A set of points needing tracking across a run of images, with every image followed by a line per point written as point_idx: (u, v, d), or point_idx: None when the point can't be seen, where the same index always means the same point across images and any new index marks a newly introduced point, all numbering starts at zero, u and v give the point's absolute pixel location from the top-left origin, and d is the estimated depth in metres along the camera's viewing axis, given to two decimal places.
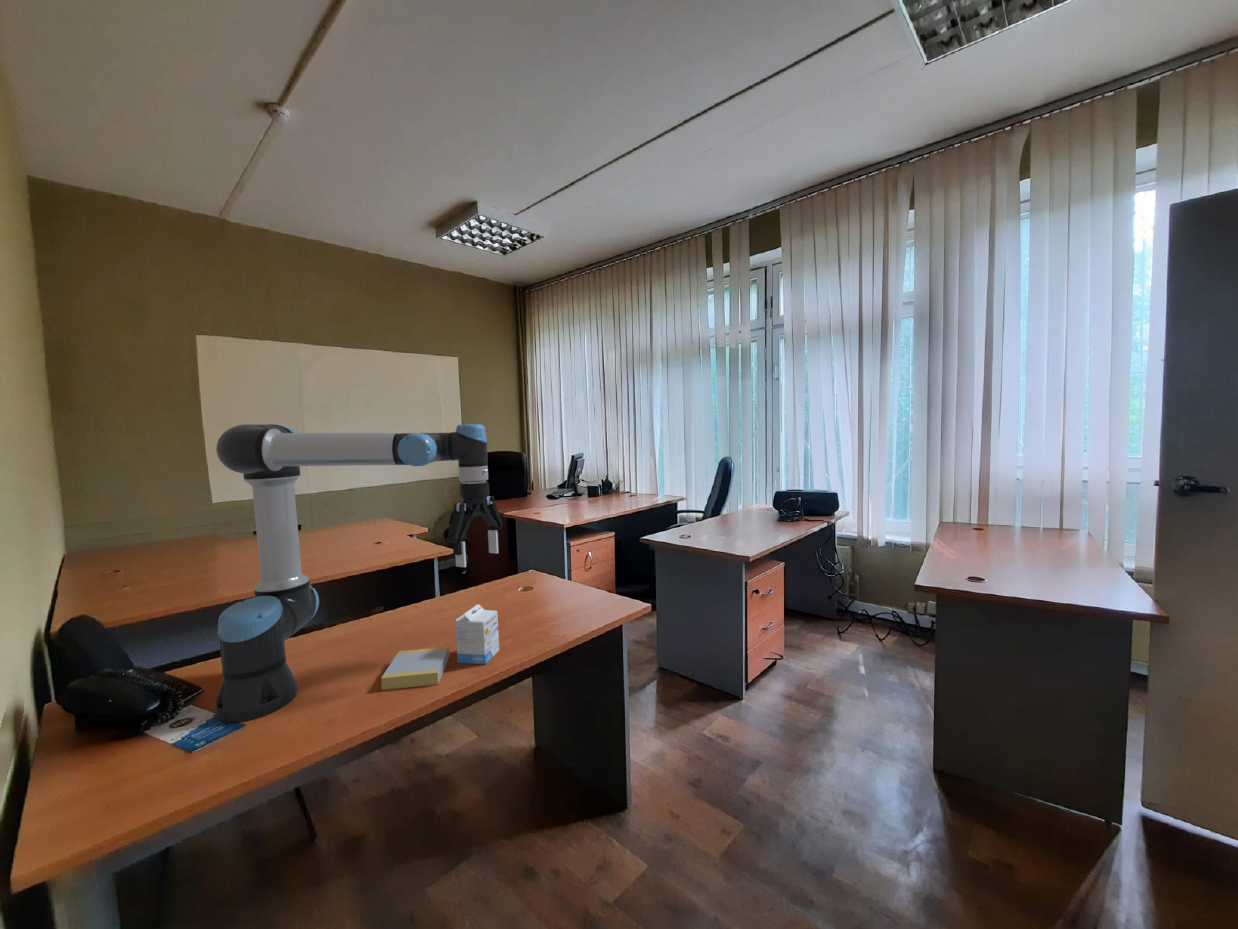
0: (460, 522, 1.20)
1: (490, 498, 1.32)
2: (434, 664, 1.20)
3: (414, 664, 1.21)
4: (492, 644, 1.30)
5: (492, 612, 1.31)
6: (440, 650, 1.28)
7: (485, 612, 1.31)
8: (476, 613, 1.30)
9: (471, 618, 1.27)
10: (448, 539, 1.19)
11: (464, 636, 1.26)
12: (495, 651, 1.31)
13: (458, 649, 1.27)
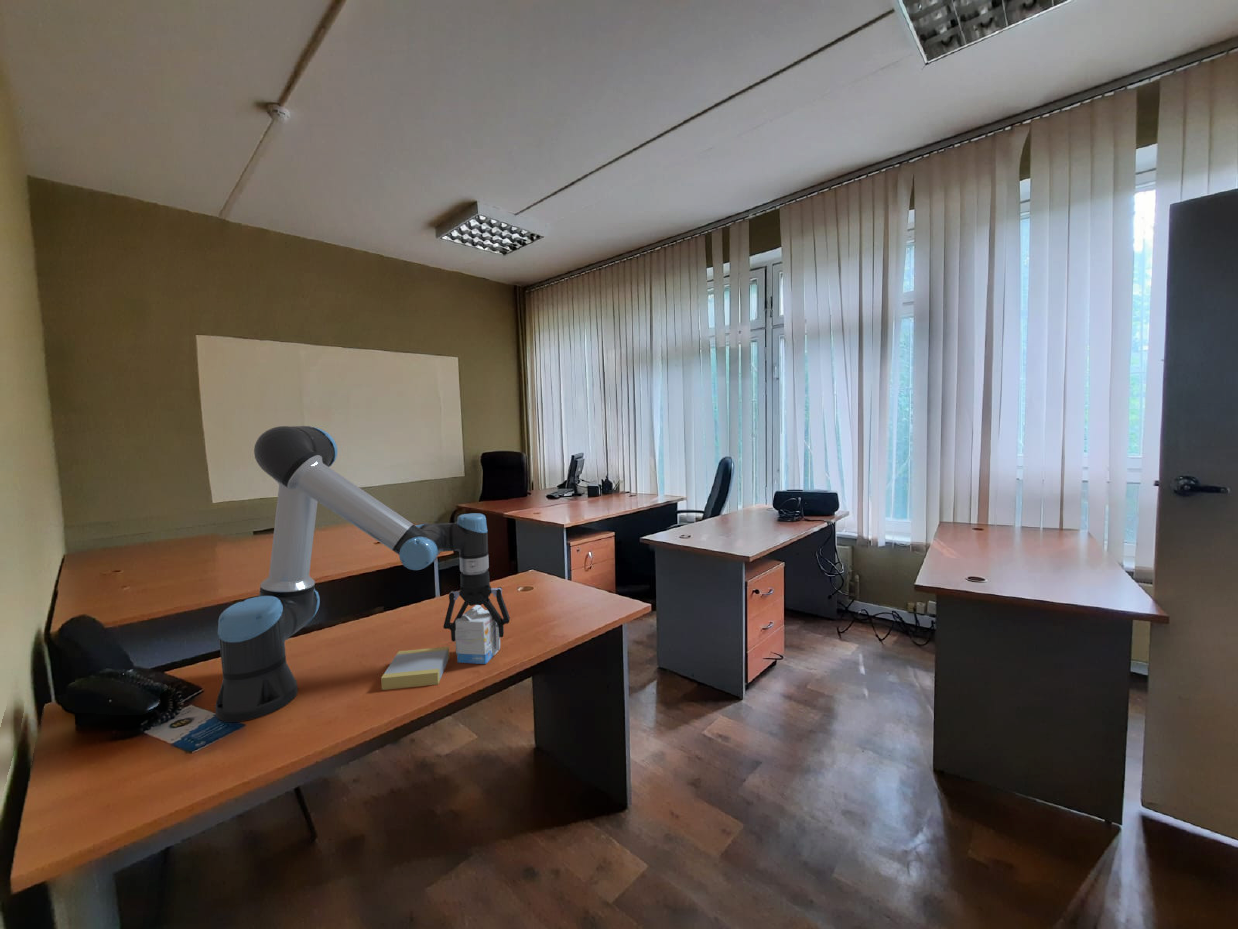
0: (449, 611, 1.27)
1: (496, 591, 1.29)
2: (434, 664, 1.20)
3: (414, 664, 1.21)
4: (492, 643, 1.30)
5: None
6: (440, 650, 1.28)
7: (485, 612, 1.31)
8: (476, 613, 1.30)
9: (471, 618, 1.27)
10: None
11: (464, 636, 1.26)
12: (495, 651, 1.31)
13: (458, 649, 1.27)
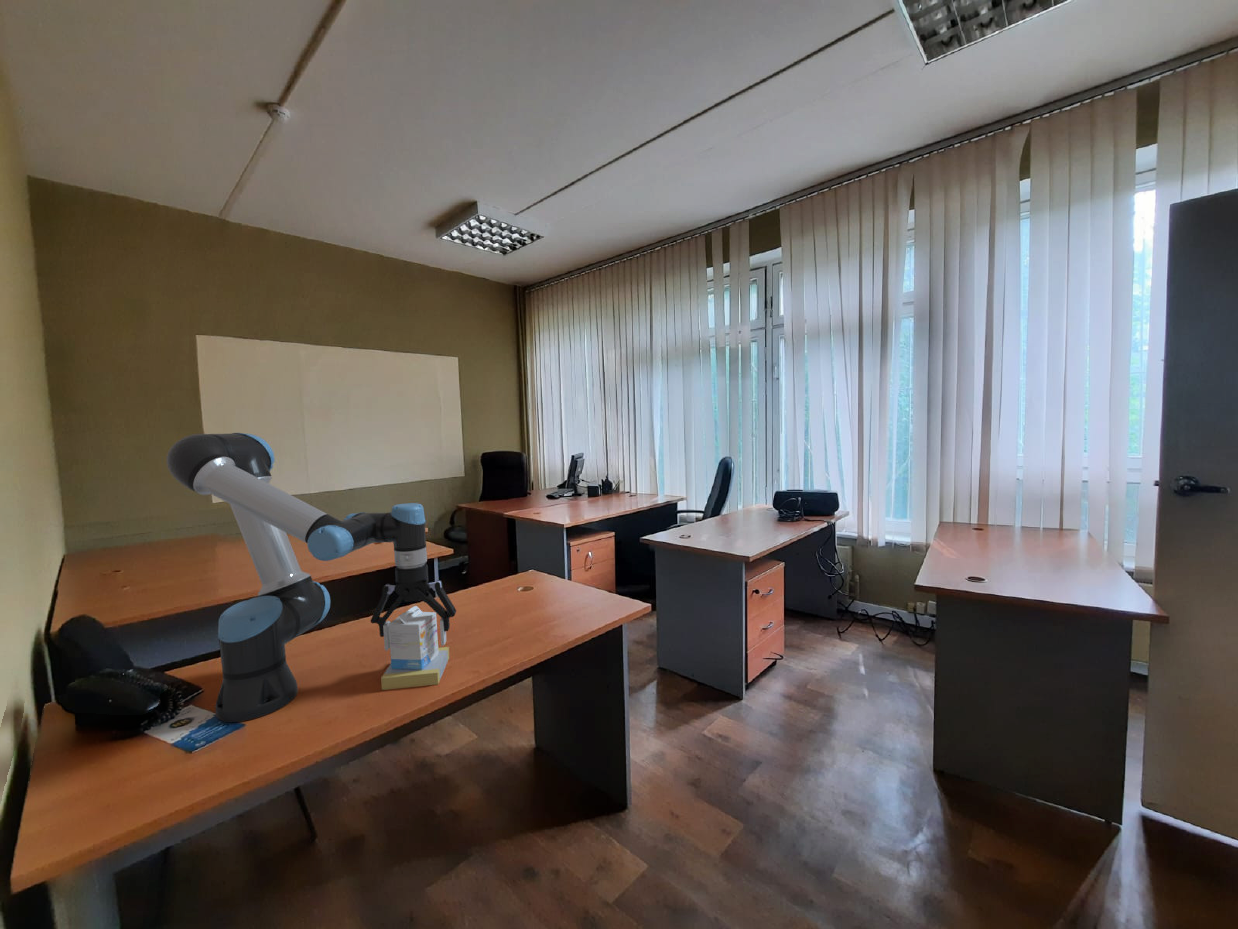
0: (380, 605, 1.18)
1: (435, 584, 1.21)
2: (434, 664, 1.20)
3: None
4: (430, 647, 1.21)
5: (430, 614, 1.23)
6: (440, 650, 1.28)
7: (422, 614, 1.23)
8: (412, 615, 1.22)
9: (406, 621, 1.19)
10: None
11: (398, 640, 1.18)
12: (434, 655, 1.23)
13: (392, 654, 1.18)
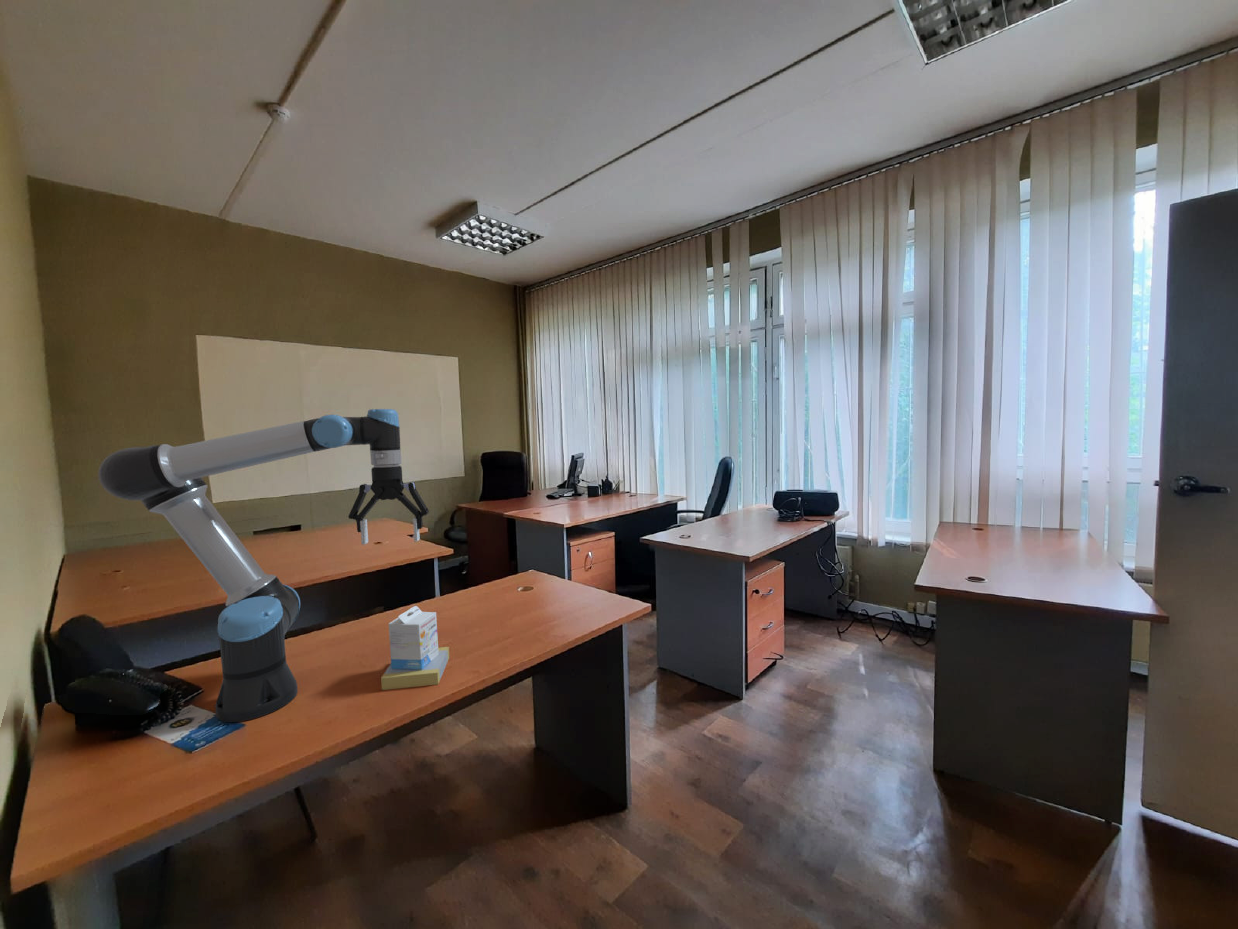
0: (357, 502, 1.28)
1: None
2: (434, 664, 1.20)
3: None
4: (430, 647, 1.21)
5: (430, 614, 1.23)
6: (440, 650, 1.28)
7: (422, 614, 1.23)
8: (412, 615, 1.22)
9: (406, 621, 1.19)
10: None
11: (398, 640, 1.18)
12: (434, 655, 1.23)
13: (392, 654, 1.18)
